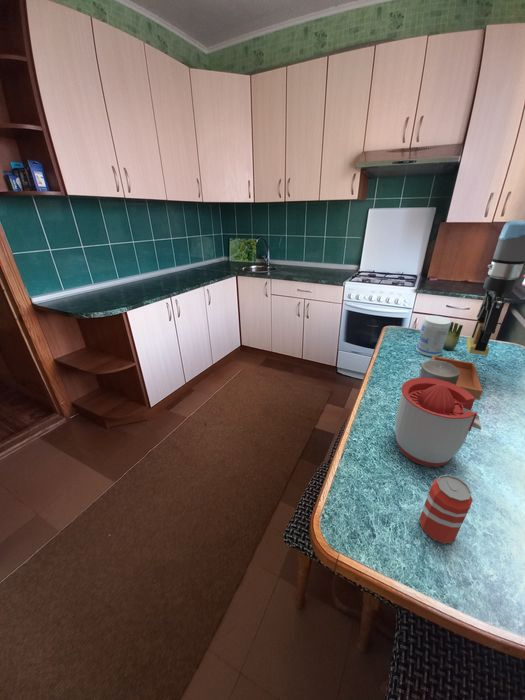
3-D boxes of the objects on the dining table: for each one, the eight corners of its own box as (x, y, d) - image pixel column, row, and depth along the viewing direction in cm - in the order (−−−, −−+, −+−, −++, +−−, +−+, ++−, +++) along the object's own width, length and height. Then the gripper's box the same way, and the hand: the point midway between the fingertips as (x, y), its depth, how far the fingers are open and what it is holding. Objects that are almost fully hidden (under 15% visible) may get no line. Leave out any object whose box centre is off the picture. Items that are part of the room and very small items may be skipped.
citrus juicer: (467, 489, 64) (499, 417, 55) (384, 459, 72) (400, 392, 63) (464, 442, 76) (489, 378, 67) (393, 421, 84) (407, 361, 75)
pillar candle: (450, 404, 90) (465, 362, 83) (442, 420, 84) (457, 376, 77) (417, 392, 96) (428, 352, 89) (407, 406, 90) (418, 364, 83)
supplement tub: (410, 349, 124) (418, 316, 118) (427, 345, 127) (436, 313, 120) (428, 359, 116) (438, 325, 110) (446, 355, 119) (457, 321, 112)
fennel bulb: (456, 350, 122) (465, 324, 117) (446, 352, 121) (455, 325, 116) (446, 345, 127) (454, 319, 122) (436, 346, 126) (444, 320, 121)
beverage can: (446, 515, 59) (464, 473, 53) (460, 548, 53) (482, 506, 48) (415, 510, 60) (429, 470, 54) (425, 543, 54) (442, 501, 48)
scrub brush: (482, 346, 100) (491, 321, 96) (486, 356, 94) (496, 330, 90) (465, 343, 102) (473, 319, 98) (468, 353, 96) (477, 327, 92)
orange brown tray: (471, 370, 108) (474, 363, 106) (479, 399, 92) (482, 391, 91) (430, 363, 113) (432, 355, 112) (431, 389, 98) (433, 381, 96)
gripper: (481, 269, 97) (461, 331, 107) (493, 283, 80) (468, 356, 90) (509, 271, 94) (485, 335, 104) (527, 286, 77) (497, 361, 87)
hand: (477, 344), depth 97 cm, fingers closed on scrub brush, 8 cm apart
